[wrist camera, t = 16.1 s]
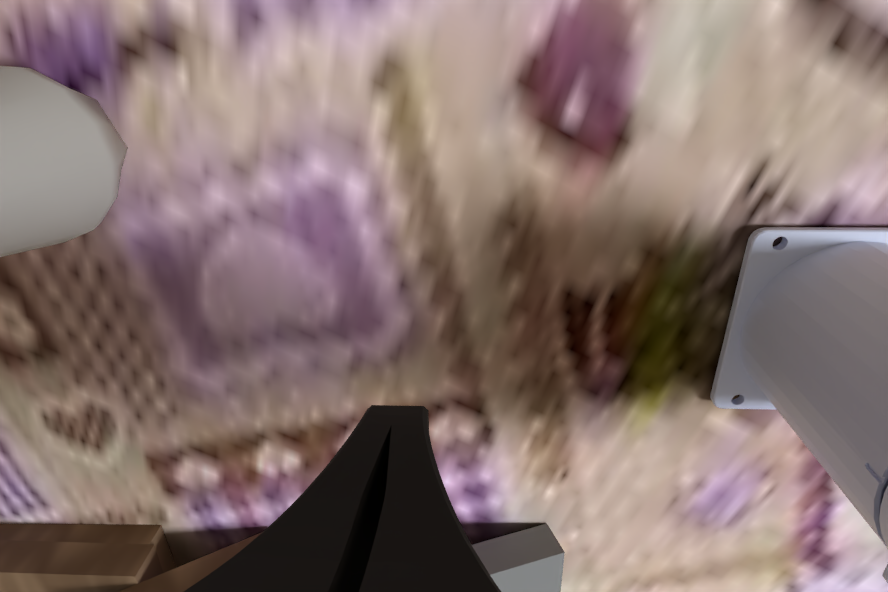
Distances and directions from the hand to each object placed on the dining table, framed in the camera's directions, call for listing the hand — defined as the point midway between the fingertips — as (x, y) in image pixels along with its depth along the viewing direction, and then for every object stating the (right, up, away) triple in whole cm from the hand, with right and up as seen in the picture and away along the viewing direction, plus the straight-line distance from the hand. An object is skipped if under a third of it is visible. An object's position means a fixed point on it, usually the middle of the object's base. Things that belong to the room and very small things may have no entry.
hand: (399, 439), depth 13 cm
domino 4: (-14, -12, +15) cm, 23 cm away
